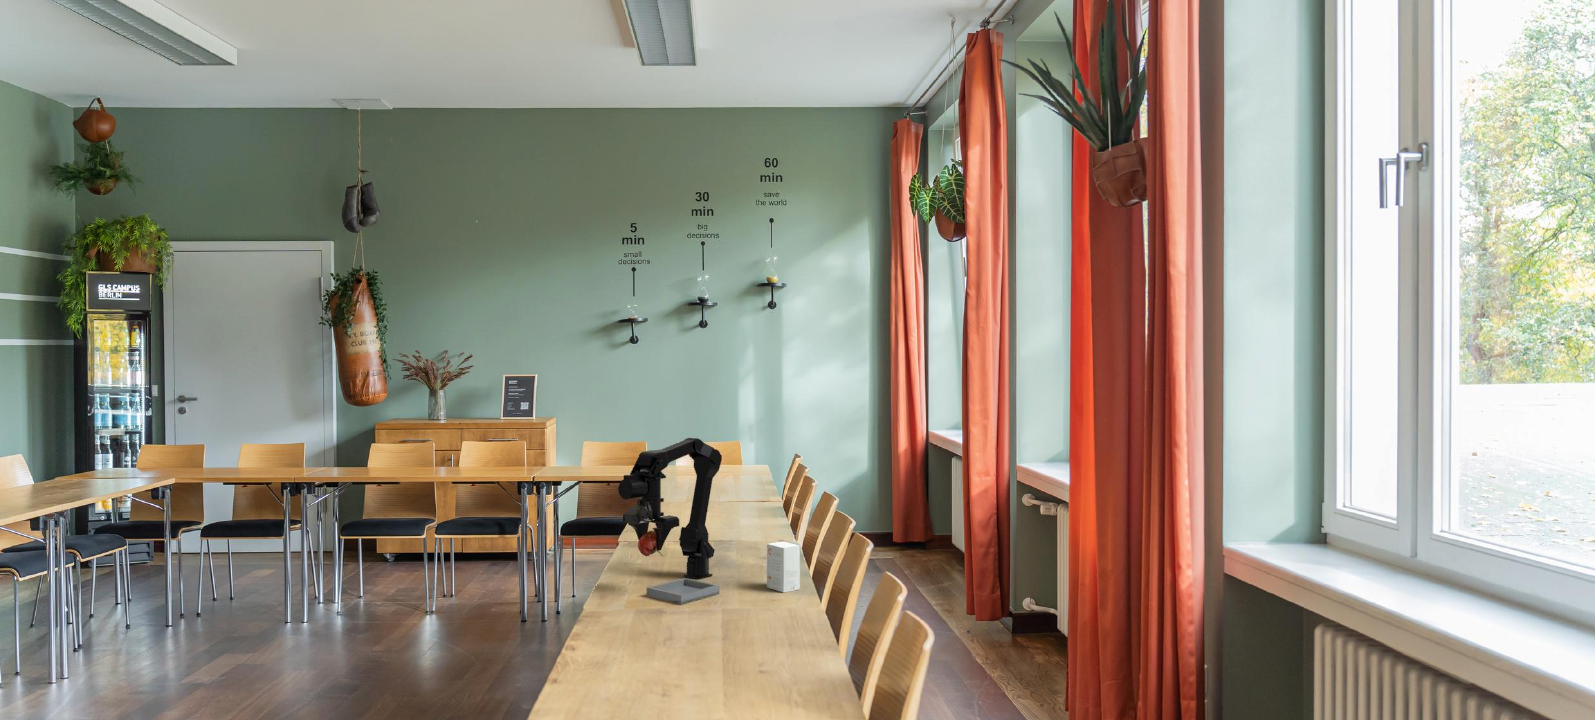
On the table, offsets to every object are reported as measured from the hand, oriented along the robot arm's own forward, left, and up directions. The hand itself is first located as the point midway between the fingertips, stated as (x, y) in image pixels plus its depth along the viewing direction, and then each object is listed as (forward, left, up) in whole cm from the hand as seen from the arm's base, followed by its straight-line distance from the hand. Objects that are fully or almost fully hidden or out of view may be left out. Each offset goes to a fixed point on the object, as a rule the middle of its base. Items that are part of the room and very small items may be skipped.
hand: (650, 548), depth 273 cm
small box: (-26, +29, -12) cm, 40 cm away
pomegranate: (0, 0, -2) cm, 2 cm away
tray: (-2, +12, -12) cm, 17 cm away
